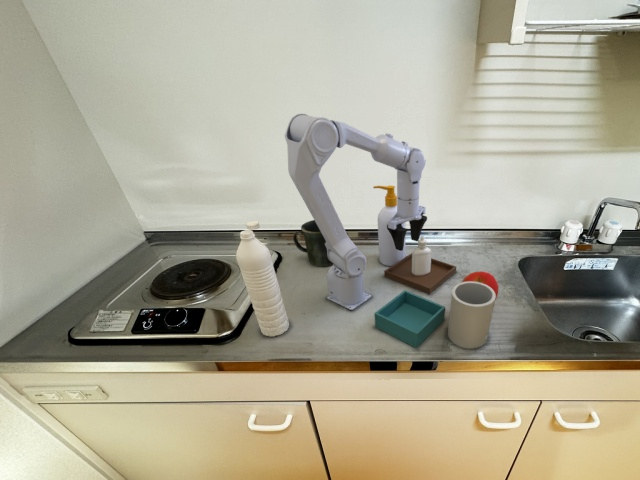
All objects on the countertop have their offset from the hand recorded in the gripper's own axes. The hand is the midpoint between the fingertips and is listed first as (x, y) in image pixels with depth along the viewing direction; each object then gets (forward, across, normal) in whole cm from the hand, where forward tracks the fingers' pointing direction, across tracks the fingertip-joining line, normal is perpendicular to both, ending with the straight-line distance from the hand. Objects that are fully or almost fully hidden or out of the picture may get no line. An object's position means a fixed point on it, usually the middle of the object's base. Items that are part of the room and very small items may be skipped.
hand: (407, 244), depth 90 cm
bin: (+10, -18, -14) cm, 25 cm away
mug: (+11, -9, +29) cm, 32 cm away
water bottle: (+11, -38, +12) cm, 41 cm away
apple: (+10, -2, -24) cm, 27 cm away
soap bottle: (+10, +5, +10) cm, 15 cm away
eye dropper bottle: (+10, +3, -3) cm, 11 cm away
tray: (+10, +3, -3) cm, 11 cm away
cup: (+10, -13, -27) cm, 32 cm away
